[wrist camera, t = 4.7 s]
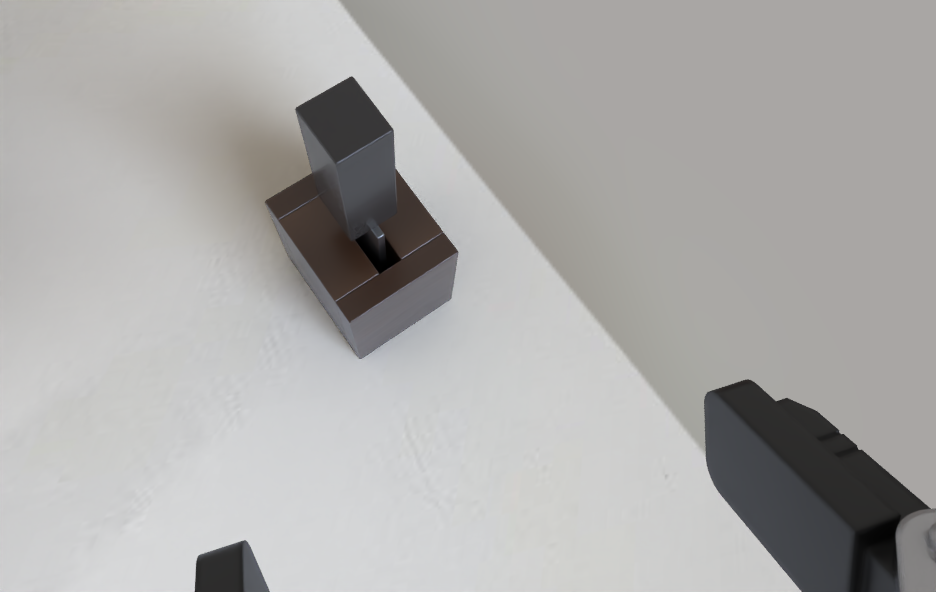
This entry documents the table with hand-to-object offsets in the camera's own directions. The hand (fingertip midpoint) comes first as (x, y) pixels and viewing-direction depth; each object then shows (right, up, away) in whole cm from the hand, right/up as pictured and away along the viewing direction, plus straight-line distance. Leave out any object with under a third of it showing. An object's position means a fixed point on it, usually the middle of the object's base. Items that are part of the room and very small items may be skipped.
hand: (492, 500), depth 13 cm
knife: (-5, +4, +23) cm, 24 cm away
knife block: (-5, +4, +23) cm, 24 cm away
